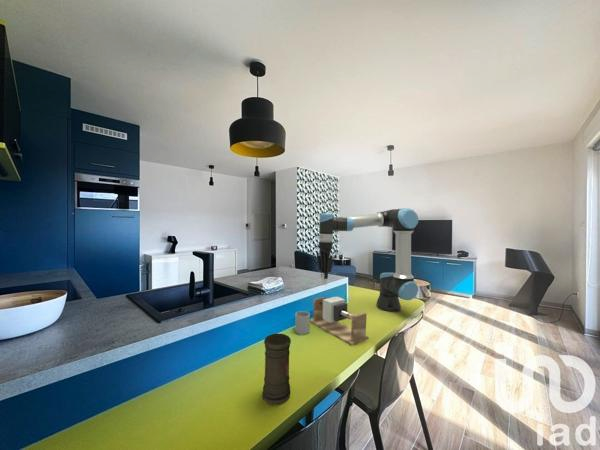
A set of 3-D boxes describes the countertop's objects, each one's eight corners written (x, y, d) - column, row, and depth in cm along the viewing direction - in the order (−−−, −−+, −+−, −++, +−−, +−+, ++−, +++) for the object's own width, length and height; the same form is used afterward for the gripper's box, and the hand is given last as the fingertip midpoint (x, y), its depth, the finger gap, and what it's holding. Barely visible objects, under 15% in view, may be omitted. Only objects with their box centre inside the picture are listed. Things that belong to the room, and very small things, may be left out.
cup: (299, 335, 118) (299, 317, 117) (290, 327, 126) (290, 310, 126) (312, 333, 121) (312, 315, 121) (302, 325, 130) (302, 308, 130)
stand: (310, 322, 134) (310, 299, 133) (326, 317, 141) (326, 296, 140) (351, 345, 109) (352, 318, 109) (368, 338, 116) (369, 312, 116)
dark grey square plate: (333, 320, 122) (334, 305, 122) (344, 317, 126) (344, 302, 126) (336, 321, 120) (336, 306, 120) (347, 318, 125) (347, 303, 124)
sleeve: (322, 318, 127) (323, 299, 127) (336, 314, 133) (336, 296, 132) (330, 322, 122) (330, 302, 122) (344, 318, 128) (344, 299, 128)
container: (266, 408, 72) (268, 348, 71) (259, 389, 80) (260, 335, 80) (294, 400, 75) (296, 343, 75) (284, 382, 83) (286, 330, 83)
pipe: (318, 305, 135) (318, 300, 135) (321, 304, 137) (322, 299, 137) (356, 323, 113) (357, 317, 113) (361, 322, 114) (361, 316, 114)
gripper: (312, 240, 136) (311, 282, 136) (328, 242, 125) (327, 288, 125) (322, 240, 140) (321, 280, 140) (339, 242, 130) (337, 286, 130)
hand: (324, 284), depth 133 cm, fingers closed
